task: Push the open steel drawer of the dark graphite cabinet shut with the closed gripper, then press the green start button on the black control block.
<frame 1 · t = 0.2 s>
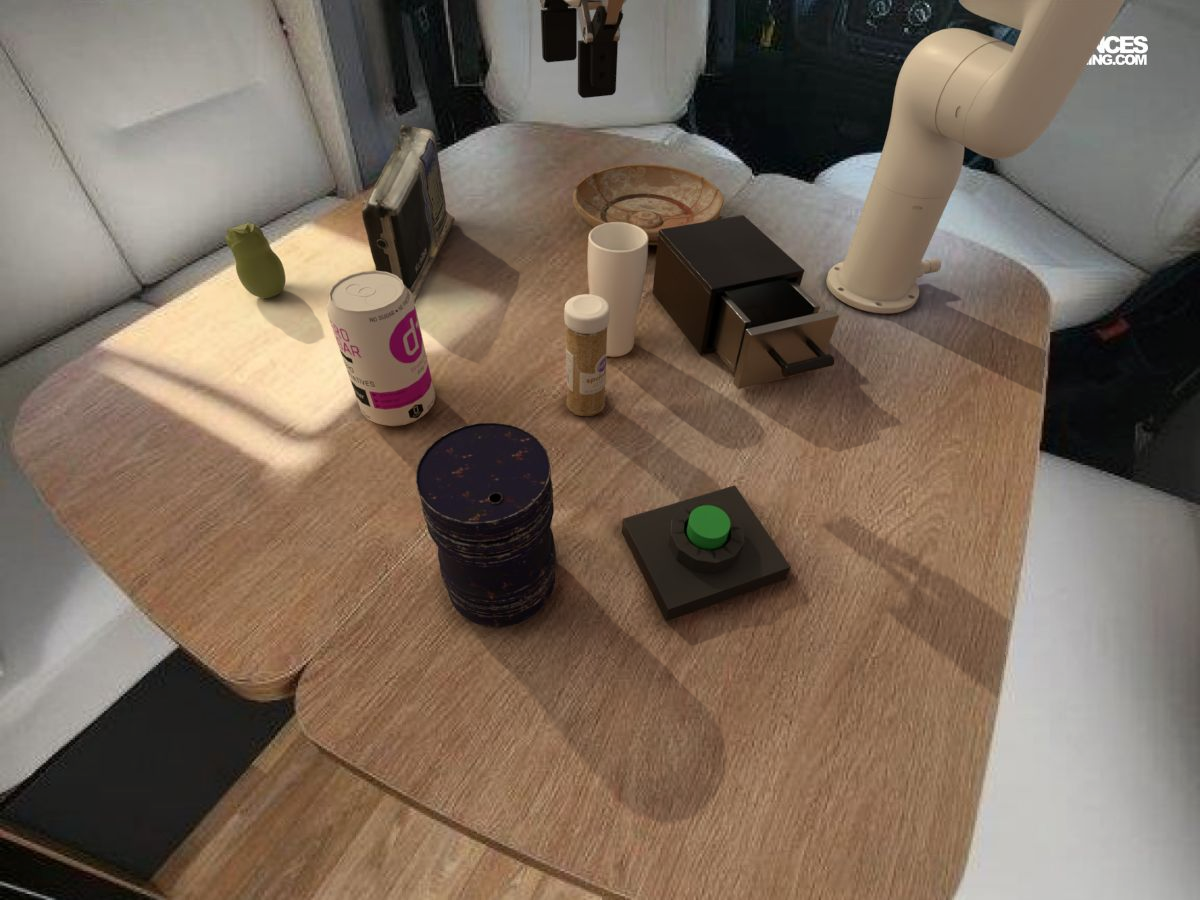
hand: (577, 76, 55), 31 cm above the table, tool pointing down, fingers open, 9 cm apart
ceramic bowl: (645, 224, 102), on the table
start button: (708, 527, 55), point 4 cm above the table, slide at 0.1 cm
drawer: (766, 330, 75), point 5 cm above the table, slide at 7.0 cm
tall white cup: (612, 347, 80), on the table
storage jar: (502, 579, 56), on the table
cabinet: (716, 313, 85), on the table
radio: (421, 258, 93), on the table
control block: (701, 555, 58), on the table
soda can: (399, 405, 71), on the table
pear: (270, 295, 85), on the table
sprinkles bottle: (585, 405, 72), on the table
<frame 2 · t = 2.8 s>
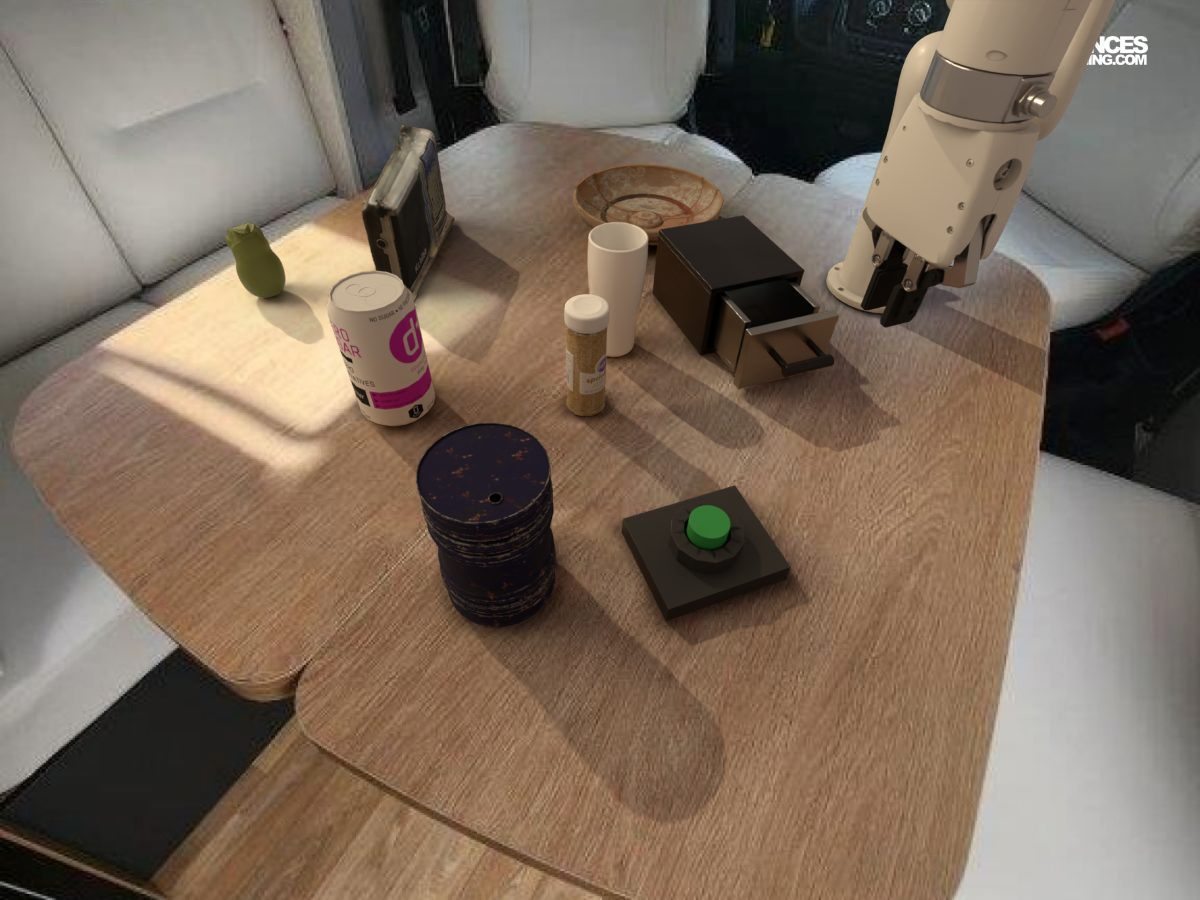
hand: (885, 313, 56), 17 cm above the table, tool pointing down, fingers closed
nothing on the table moved.
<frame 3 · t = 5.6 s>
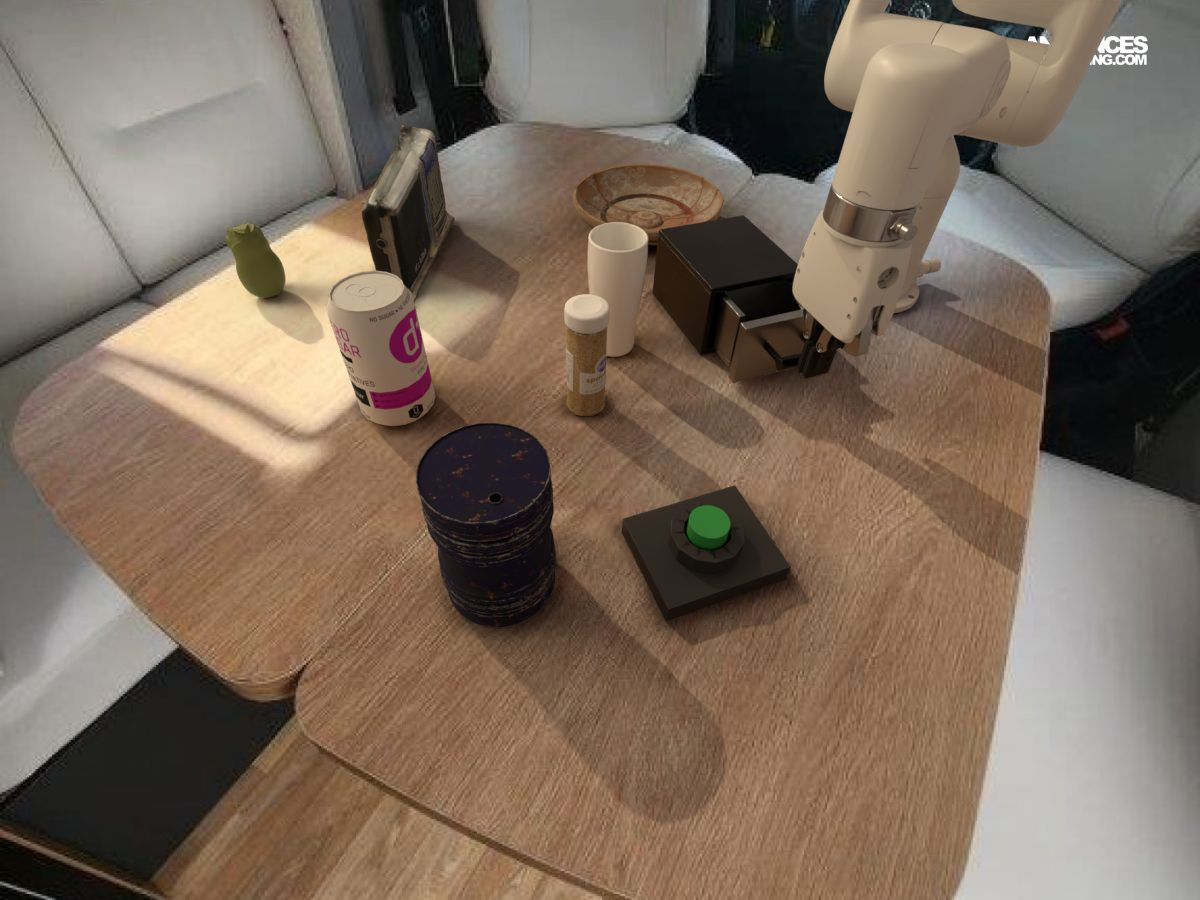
hand: (811, 371, 69), 6 cm above the table, tool pointing down, fingers closed
drawer: (761, 324, 75), point 5 cm above the table, slide at 5.8 cm, touching gripper
everything else where it was.
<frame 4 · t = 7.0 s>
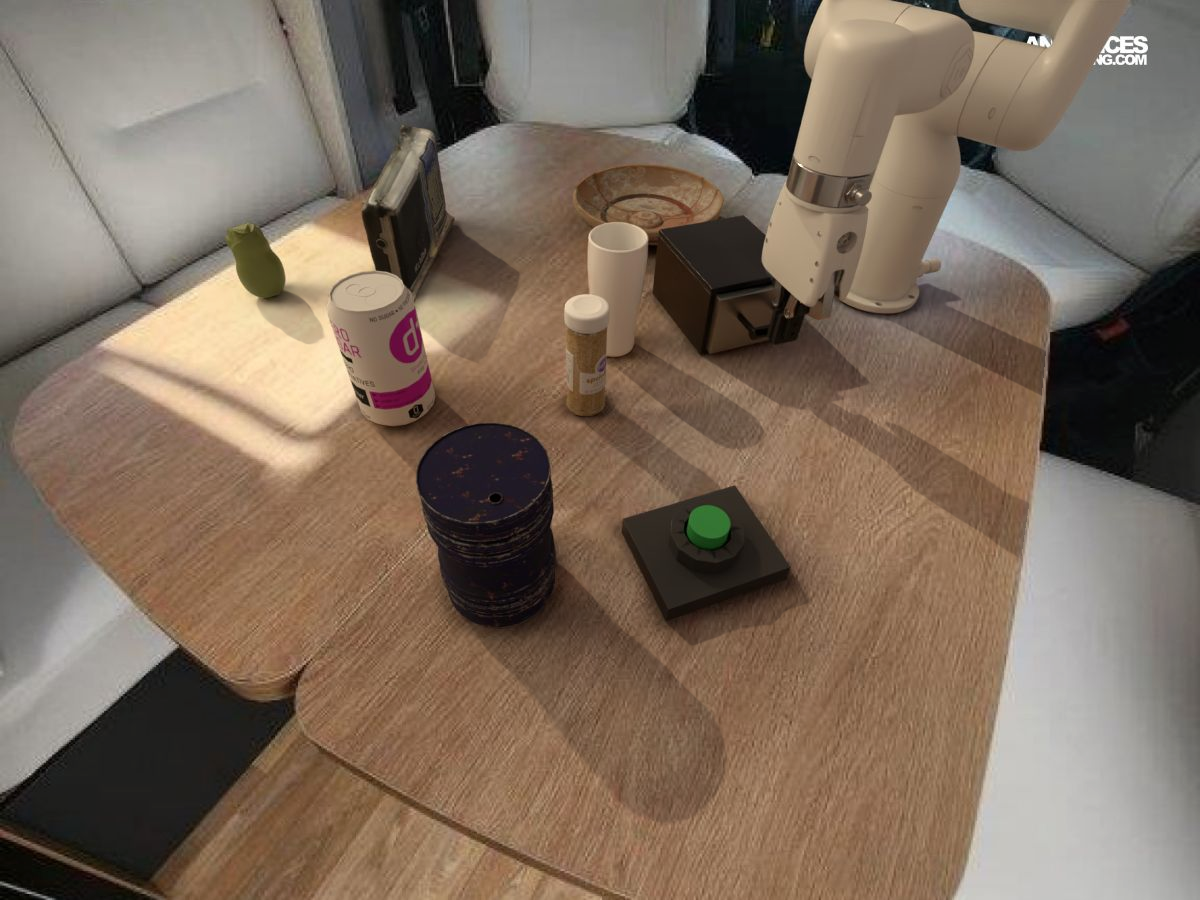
hand: (781, 338, 72), 6 cm above the table, tool pointing down, fingers closed
drawer: (737, 298, 79), point 5 cm above the table, slide at 0.0 cm, touching cabinet, gripper
everything else where it was.
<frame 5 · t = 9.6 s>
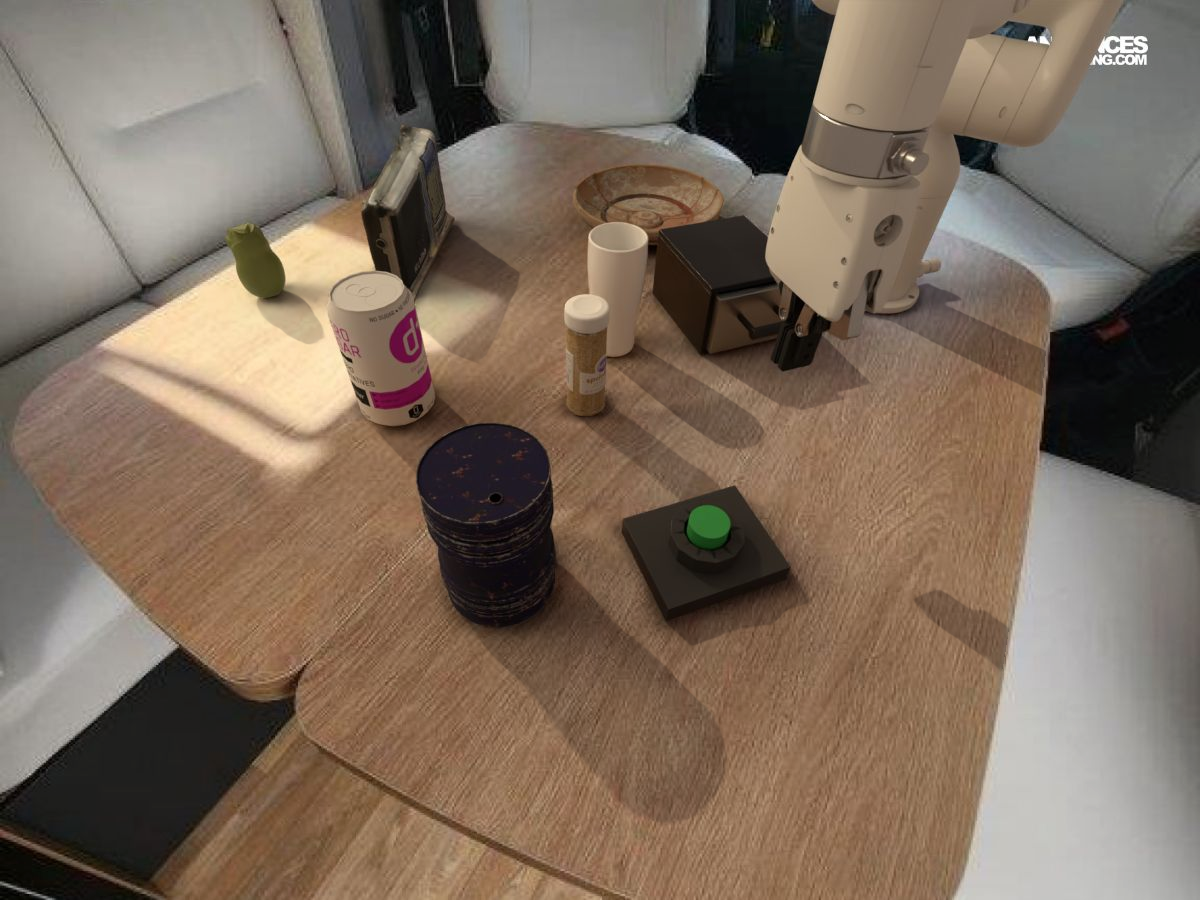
hand: (790, 362, 54), 15 cm above the table, tool pointing down, fingers closed
drawer: (737, 298, 79), point 5 cm above the table, slide at 0.0 cm, touching cabinet
everything else where it was.
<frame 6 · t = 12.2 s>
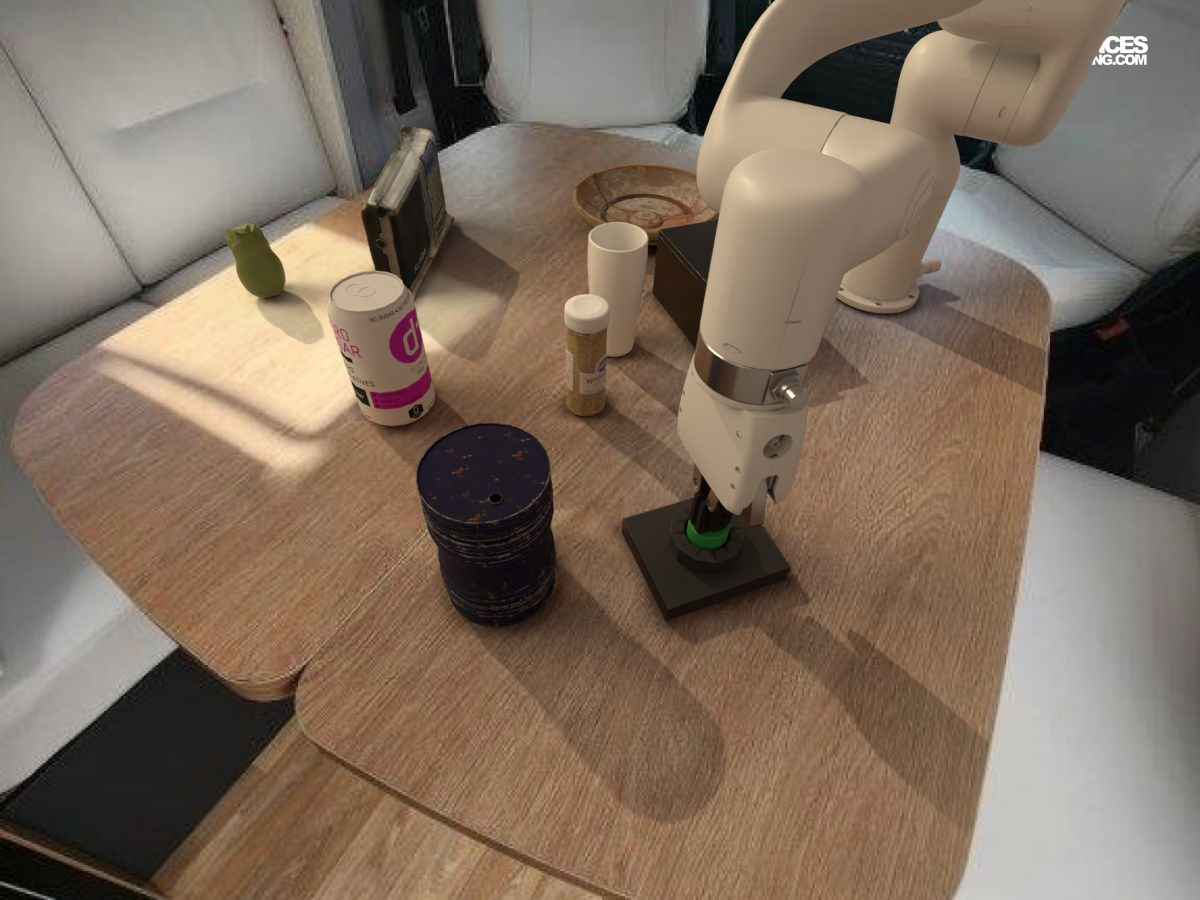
hand: (709, 523, 54), 5 cm above the table, tool pointing down, fingers closed
start button: (708, 528, 55), point 4 cm above the table, slide at 0.0 cm, touching gripper
everything else where it was.
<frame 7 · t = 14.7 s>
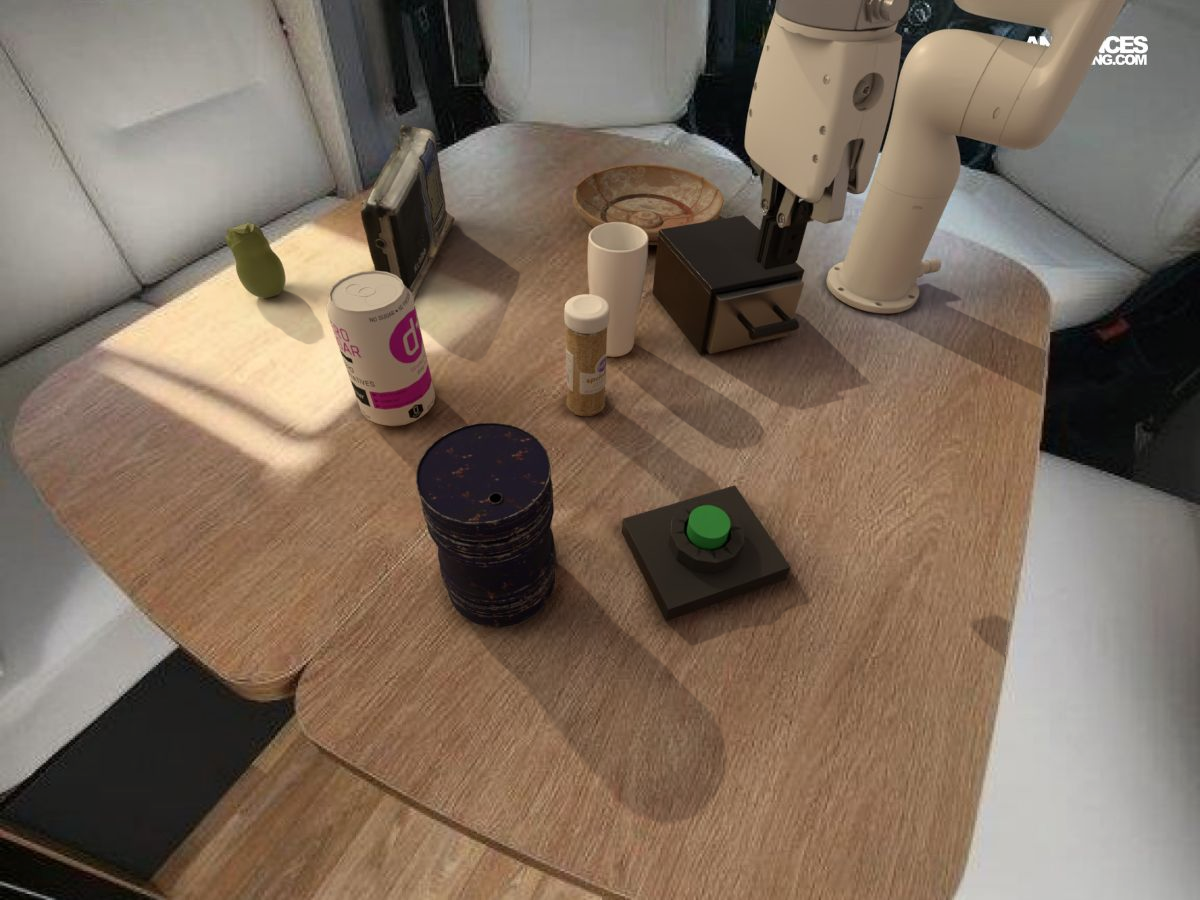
hand: (774, 261, 52), 22 cm above the table, tool pointing down, fingers closed
start button: (708, 527, 55), point 4 cm above the table, slide at 0.1 cm
everything else where it was.
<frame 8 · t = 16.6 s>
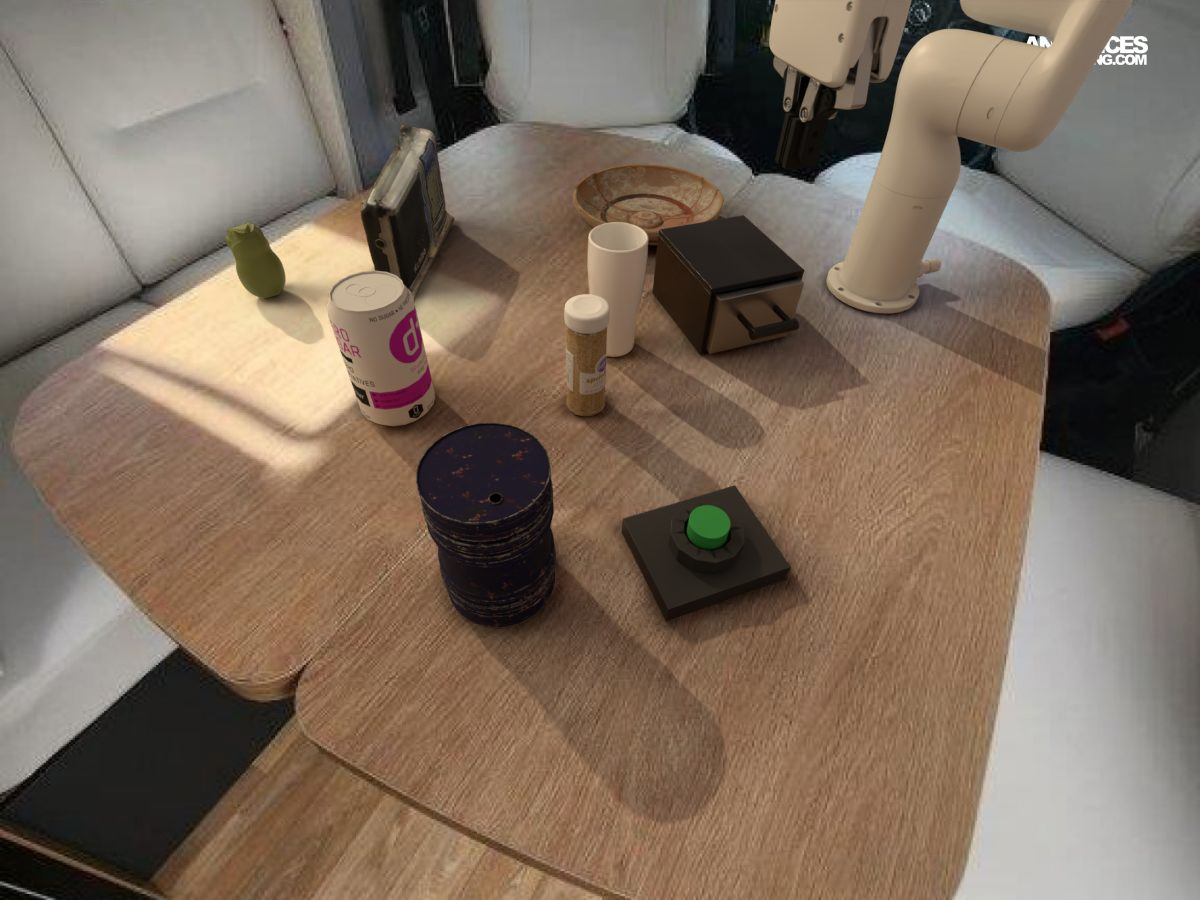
hand: (795, 164, 54), 27 cm above the table, tool pointing down, fingers closed
nothing on the table moved.
at the end: drawer slide at 0.0 cm; start button pushed in 1.1 cm at the most during the clip, back to where it started at the end; start button slide at 0.1 cm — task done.
